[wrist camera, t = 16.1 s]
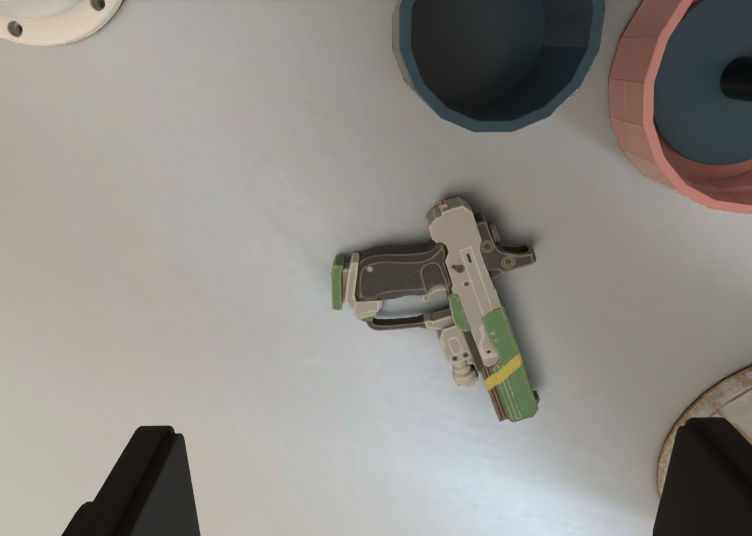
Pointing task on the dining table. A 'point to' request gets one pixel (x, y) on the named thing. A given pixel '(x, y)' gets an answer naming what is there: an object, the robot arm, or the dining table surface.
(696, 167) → the bowl
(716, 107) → the lid
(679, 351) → the dining table surface
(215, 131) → the dining table surface
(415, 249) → the futuristic handgun
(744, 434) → the milk can
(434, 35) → the tin
